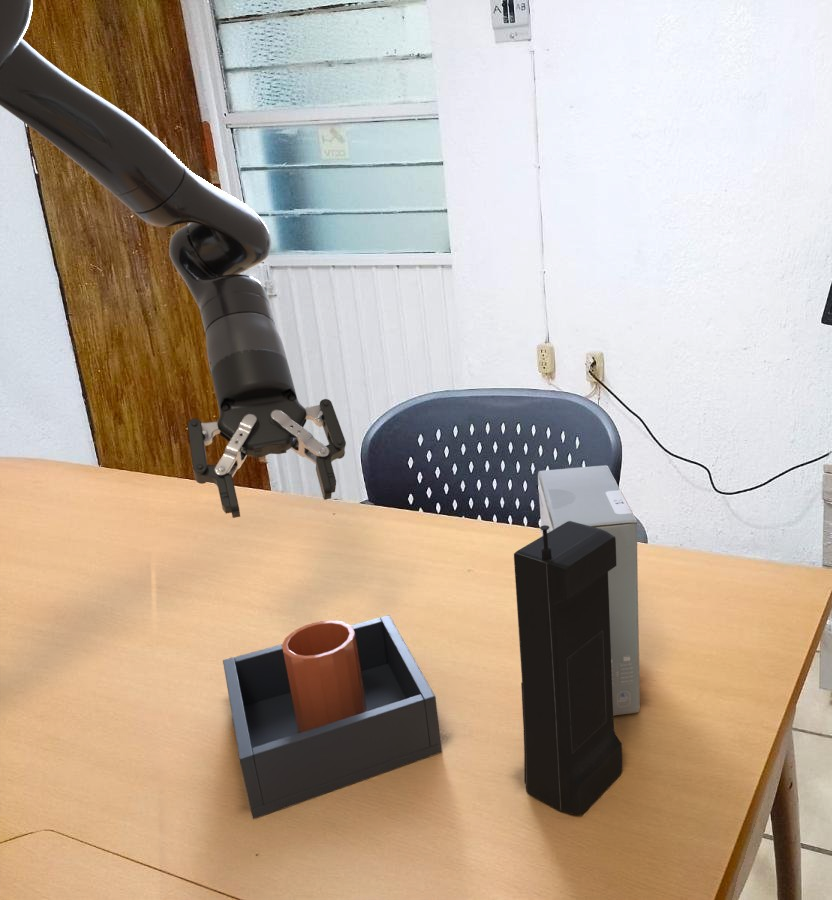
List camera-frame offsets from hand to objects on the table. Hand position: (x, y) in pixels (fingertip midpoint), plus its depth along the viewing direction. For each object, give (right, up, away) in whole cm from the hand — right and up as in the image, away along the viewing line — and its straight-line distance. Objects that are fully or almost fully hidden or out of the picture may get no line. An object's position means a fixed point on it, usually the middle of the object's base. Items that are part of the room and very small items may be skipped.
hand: (283, 505), depth 81 cm
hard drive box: (+30, -18, +4) cm, 35 cm away
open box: (+6, -21, -3) cm, 22 cm away
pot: (+6, -20, -3) cm, 21 cm away
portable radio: (+29, -23, -10) cm, 38 cm away
